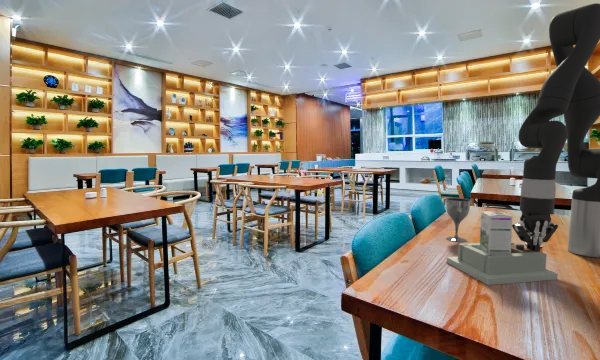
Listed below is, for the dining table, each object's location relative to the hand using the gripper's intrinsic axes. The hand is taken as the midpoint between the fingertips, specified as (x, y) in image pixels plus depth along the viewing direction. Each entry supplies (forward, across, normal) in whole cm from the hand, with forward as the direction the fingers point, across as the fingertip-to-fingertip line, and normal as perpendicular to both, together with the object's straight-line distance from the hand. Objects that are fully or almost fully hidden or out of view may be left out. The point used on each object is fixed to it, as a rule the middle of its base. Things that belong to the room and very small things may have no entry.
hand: (532, 257), depth 88 cm
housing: (+3, -11, 0) cm, 12 cm away
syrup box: (+2, -13, 0) cm, 13 cm away
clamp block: (+1, -4, 0) cm, 4 cm away
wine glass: (+3, -2, +29) cm, 29 cm away
